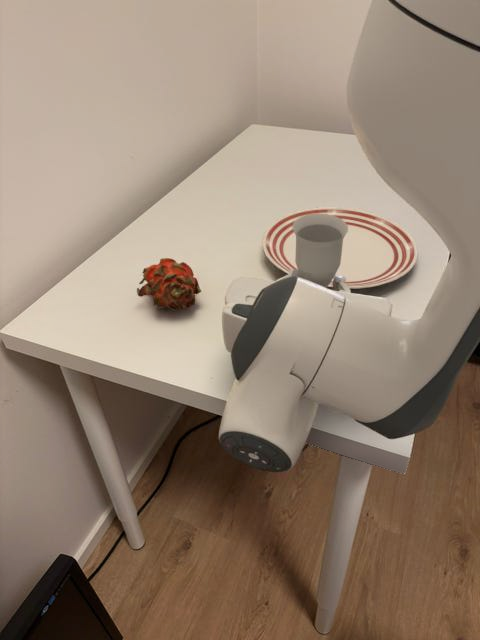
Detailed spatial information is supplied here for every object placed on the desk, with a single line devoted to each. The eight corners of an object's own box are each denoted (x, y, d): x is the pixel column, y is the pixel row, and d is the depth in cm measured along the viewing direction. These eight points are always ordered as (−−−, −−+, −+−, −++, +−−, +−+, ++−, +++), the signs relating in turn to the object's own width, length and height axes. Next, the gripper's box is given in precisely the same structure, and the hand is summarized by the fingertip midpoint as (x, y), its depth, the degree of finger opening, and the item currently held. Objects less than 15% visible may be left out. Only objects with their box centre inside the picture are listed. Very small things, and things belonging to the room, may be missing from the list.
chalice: (339, 353, 68) (352, 241, 57) (290, 354, 68) (294, 243, 57) (332, 320, 74) (343, 212, 62) (287, 321, 74) (290, 214, 62)
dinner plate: (423, 232, 94) (427, 217, 92) (403, 316, 75) (407, 299, 73) (288, 212, 103) (289, 198, 101) (239, 282, 84) (239, 266, 81)
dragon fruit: (194, 330, 77) (152, 307, 85) (222, 284, 77) (177, 265, 85) (159, 308, 70) (117, 285, 78) (189, 258, 71) (144, 241, 79)
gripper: (392, 338, 50) (401, 267, 60) (209, 307, 56) (245, 247, 66) (383, 380, 54) (393, 307, 64) (213, 347, 60) (247, 285, 70)
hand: (317, 277), depth 65 cm, fingers closed on chalice, 4 cm apart
